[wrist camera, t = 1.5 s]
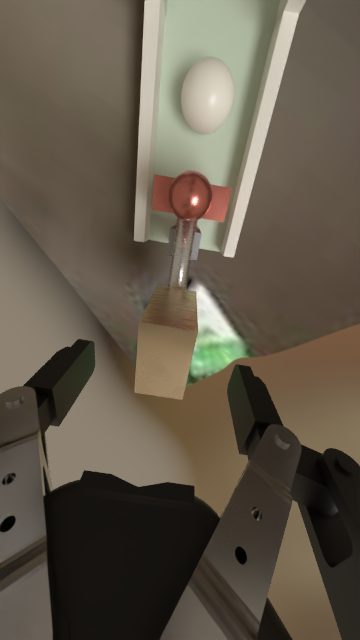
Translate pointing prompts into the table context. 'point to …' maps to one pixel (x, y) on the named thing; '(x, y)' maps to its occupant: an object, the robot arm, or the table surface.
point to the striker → (175, 287)
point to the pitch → (243, 122)
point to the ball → (207, 95)
